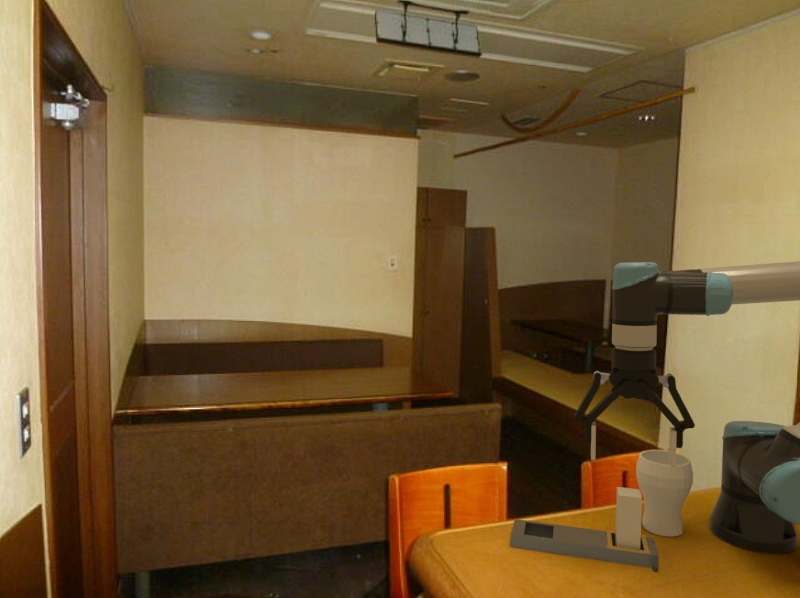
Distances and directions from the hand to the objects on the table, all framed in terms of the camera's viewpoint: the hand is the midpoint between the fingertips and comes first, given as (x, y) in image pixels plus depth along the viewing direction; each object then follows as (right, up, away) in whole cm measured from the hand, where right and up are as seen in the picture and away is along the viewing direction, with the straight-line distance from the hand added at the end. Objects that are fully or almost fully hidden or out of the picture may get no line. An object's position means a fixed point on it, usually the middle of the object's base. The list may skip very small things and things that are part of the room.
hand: (632, 461), depth 107 cm
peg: (0, -18, +1) cm, 18 cm away
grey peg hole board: (-8, -18, +4) cm, 20 cm away
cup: (+12, -18, +13) cm, 25 cm away
